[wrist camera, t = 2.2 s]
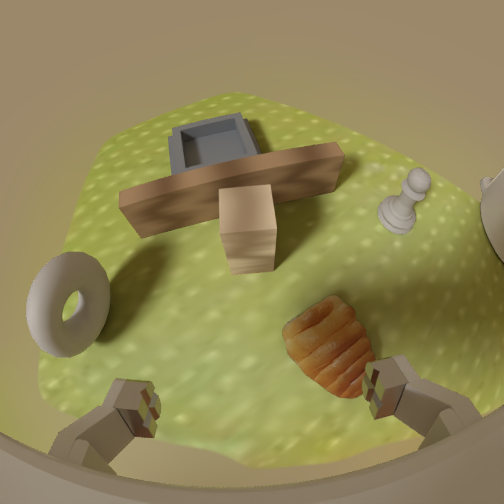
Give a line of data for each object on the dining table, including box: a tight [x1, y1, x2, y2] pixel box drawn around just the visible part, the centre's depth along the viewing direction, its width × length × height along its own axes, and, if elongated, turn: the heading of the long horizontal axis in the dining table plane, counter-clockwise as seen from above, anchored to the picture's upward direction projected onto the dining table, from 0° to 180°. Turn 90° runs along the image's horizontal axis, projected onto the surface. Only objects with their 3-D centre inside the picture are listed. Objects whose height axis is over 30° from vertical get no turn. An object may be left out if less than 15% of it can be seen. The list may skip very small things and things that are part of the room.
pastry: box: [282, 295, 375, 399], centre depth 22 cm, size 9×7×4 cm
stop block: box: [219, 184, 277, 275], centre depth 24 cm, size 4×4×8 cm
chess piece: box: [378, 168, 431, 234], centre depth 25 cm, size 5×5×8 cm
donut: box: [26, 252, 111, 358], centre depth 21 cm, size 10×4×10 cm, turn 161°
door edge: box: [119, 142, 345, 239], centre depth 28 cm, size 22×2×6 cm, turn 105°
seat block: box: [168, 113, 262, 175], centre depth 32 cm, size 11×11×3 cm
